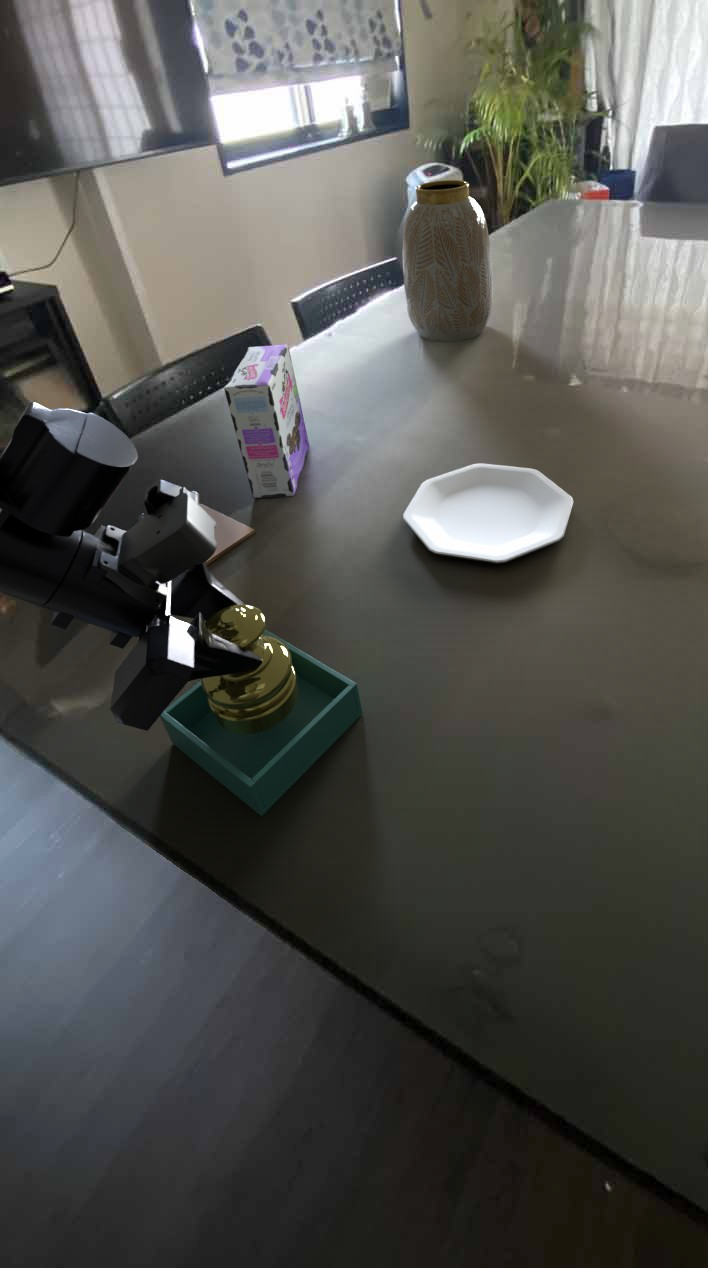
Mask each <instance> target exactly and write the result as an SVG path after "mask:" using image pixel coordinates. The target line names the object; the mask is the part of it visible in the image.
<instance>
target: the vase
mask: <svg viewBox="0 0 708 1268" xmlns="http://www.w3.org/2000/svg"><path fill="white" fill-rule="evenodd" d="M415 196H416V200H415V201H414V202H413V203H412V205H411V206H410V208H409V210H408V211H407V213H406V215H405V218H404V222H403V230H402V231H403V232H402V272H403V287H404V294H405V295H404V298H405V304H406V305H405V306H406V311H407V315H408V317H409V320H410V322H411V324H412V326H413V327H414V329H415V330H416V332H417V334H418V335H419V336H420V337H422V338H423V339H426V340H429V341H435V342H458V341H463V340H467V339H471V338H473V337H476V336H477V335H479V334H481V333H482V332H483V331H484V330H485V328H486V326H487V324H488V322H489V319H490V317H491V315H492V312H493V311H492V310H493V304H494V303H493V301H494V297H493V296H494V281H493V279H494V278H493V262H492V261H493V260H492V250H491V249H492V248H491V242H490V236H489V229H488V225H487V220H486V216H485V214H484V212H483V209H482V208H481V206H480V205H479V203H478V202H477V201H476V200H475V198H473V197H472V196H470V183H469V181H466V180H462V179H446V180H445V179H443V180H434V181H429V182H423V183H420V184H419V185H416V186H415Z"/></svg>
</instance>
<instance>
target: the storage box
mask: <svg viewBox="0 0 708 1268" xmlns="http://www.w3.org/2000/svg"><path fill="white" fill-rule="evenodd" d="M263 634H266V635H270V636H273V637H275V638H277V639H279V640H281V641H282V642H283V643H284V644H285V645H286V646H287V648H288V649H289V651H290V653H291V657H292V665H293V667H294V669H295V672H296V680H297V684H298V689H299V694H298V699H297V702H296V704H295V706H294V708H293V710H292V711H291V712H290V714H289V715H288V716H287V717H286V718H285V719H284V720H282V721H281V722H280V723H279V724H277V725H275V726H274V727H272V728H270V729H268V730H265V731H262V732H259V733H254V734H237V733H233V732H230V731H228V730H226V729H224V728H223V727H221V726H220V725H219V724H218V722H217V721H216V719H215V717H214V714H213V711H212V709H211V708H210V706H209V703H208V699H207V695H206V693H205V692H204V690H203V687H202V684H201V680H200V681H199V682H197V683H196V684H195V685H193V686H192V687H190V689H189V690H188V691H186V692H185V693H184V694H182V695H181V696H180V697H179V698H177V699H176V700H175V701H173V702H171V703H170V704H169V705H168V707H167V708H166V709H165V710H164V711H163V713H162V714H161V715H160V716H159V718H160V720H161V723H162V725H163V726H164V728H165V731H166V733H167V735H168V737H169V739H170V742H171V743H172V744H173V746H175V747H176V748H178V749H179V751H181V752H182V753H183V754H185V755H186V756H187V757H188V758H189V759H191V760H192V761H193V762H195V763H196V765H198V766H200V767H201V768H202V769H203V770H204V771H206V772H207V773H208V774H209V775H210V776H211V777H213V778H214V779H215V780H216V781H217V782H219V783H220V784H221V785H222V786H224V787H225V788H226V789H228V790H229V791H230V792H231V793H232V794H233V795H235V796H236V797H237V798H238V799H239V800H241V801H242V802H243V803H244V804H246V805H247V807H249V808H251V810H253V811H254V812H255V813H256V814H258V815H259V816H260V817H263V816H264V815H265V814H266V813H267V812H268V811H269V810H270V809H271V808H272V807H273V806H274V805H275V804H276V803H277V801H279V799H281V797H282V796H283V795H284V794H285V793H286V792H287V791H288V790H289V789H290V788H292V786H293V785H294V784H295V783H296V782H298V780H299V779H300V778H301V777H302V776H303V775H304V774H305V773H306V772H307V771H308V770H309V769H310V767H312V766H313V765H314V764H315V763H316V762H317V761H318V760H319V758H321V756H323V755H324V754H325V753H326V751H328V750H329V748H330V747H331V746H332V745H333V744H335V743H336V741H337V740H338V739H339V738H340V737H341V736H342V735H343V734H344V733H345V732H347V730H349V728H350V727H351V726H352V725H353V724H354V723H355V722H356V721H357V720H358V719H359V718H360V717H361V716H362V715H363V713H364V712H363V707H362V702H361V698H360V694H359V688H358V684H357V683H356V682H355V681H353V680H351V679H350V678H348V677H346V676H345V675H344V674H343V675H342V673H339V672H338V671H336V670H335V669H333V668H331V667H329V666H328V665H326V664H324V663H322V662H321V661H319V660H317V659H316V658H314V657H313V656H311V655H309V654H307V653H306V652H304V651H303V650H302V649H299V648H297V647H296V646H294V645H292V644H291V643H289V642H287V641H286V640H284V639H282V638H281V637H279V636H277V635H276V634H275V633H272V632H270V631H269V630H267V629H265V630H264V632H263Z"/></svg>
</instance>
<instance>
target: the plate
mask: <svg viewBox="0 0 708 1268" xmlns="http://www.w3.org/2000/svg"><path fill="white" fill-rule="evenodd" d="M573 506H574V499H573V497H572V496H571V494H569V493H568V492H567V491H565V490H564V489H563V488H561V487H560V486H559V485H557V484H556V482H554V481H552V480H551V479H549V478H548V476H546V475H544V474H543V473H542V472H541V471H539V470H537V469H535V468H530V467H529V468H528V467H520V466H511V465H510V466H509V465H502V464H492V463H483V462H480V463H473V464H470V465H467V466H464V467H460V468H457V469H455V470H452V471H449V472H445V473H443V474H440V475H436V476H434V477H431V478H428V479H426V480H424V481H423V482H422V483H421V484H420V486H419V488H418V489H417V490H416V492H415V494H414V496H413V497H412V499H411V500H410V502H409V503H408V506H407V507H406V509H405V510H404V512H403V514H402V519H403V521H404V522H405V524H406V525H407V526H408V527H409V529H410V530H411V531H412V532H413V533H414V535H415V536H416V537H417V538H418V539H419V541H420V542H421V543H422V544H423V546H424V547H425V548H426V549H427V550H428V552H430V553H432V554H434V555H436V556H442V557H449V558H455V559H461V560H467V561H475V562H482V563H489V564H495V565H500V564H501V565H502V564H507V563H509V562H512V561H515V560H518V559H519V558H522V557H524V556H527V555H529V554H532V553H535V552H537V551H540V550H542V549H544V548H547V547H550V546H552V545H554V544H557V543H560V542H561V541H562V540H563V539H564V538H565V534H566V530H567V527H568V524H569V519H570V517H571V513H572V509H573Z"/></svg>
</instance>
